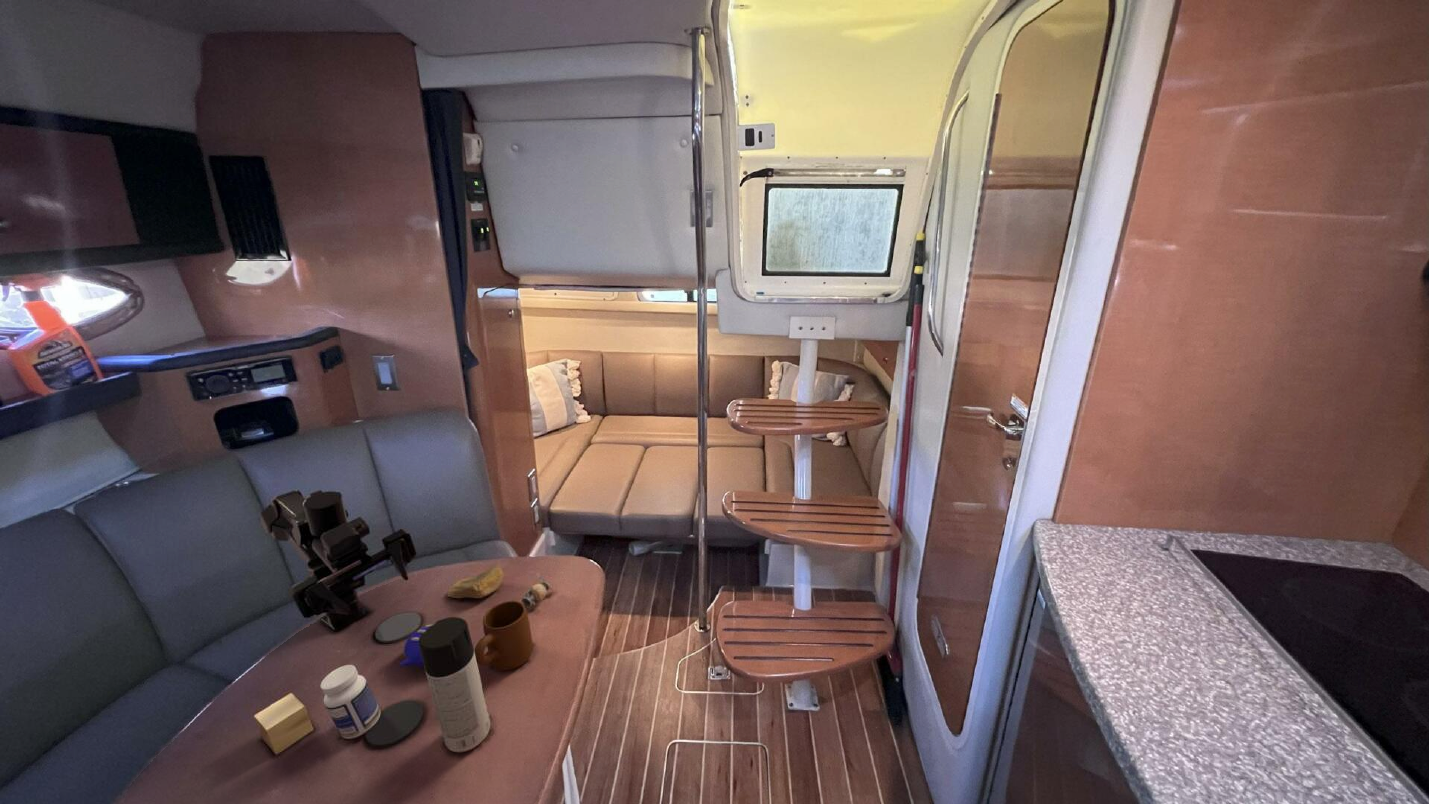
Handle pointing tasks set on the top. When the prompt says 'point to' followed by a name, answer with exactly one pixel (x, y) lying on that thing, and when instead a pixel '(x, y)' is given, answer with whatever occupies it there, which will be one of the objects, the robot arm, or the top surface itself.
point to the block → (283, 723)
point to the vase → (536, 593)
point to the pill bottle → (350, 702)
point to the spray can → (455, 683)
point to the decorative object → (414, 649)
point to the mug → (505, 636)
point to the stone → (478, 584)
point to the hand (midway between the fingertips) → (379, 594)
